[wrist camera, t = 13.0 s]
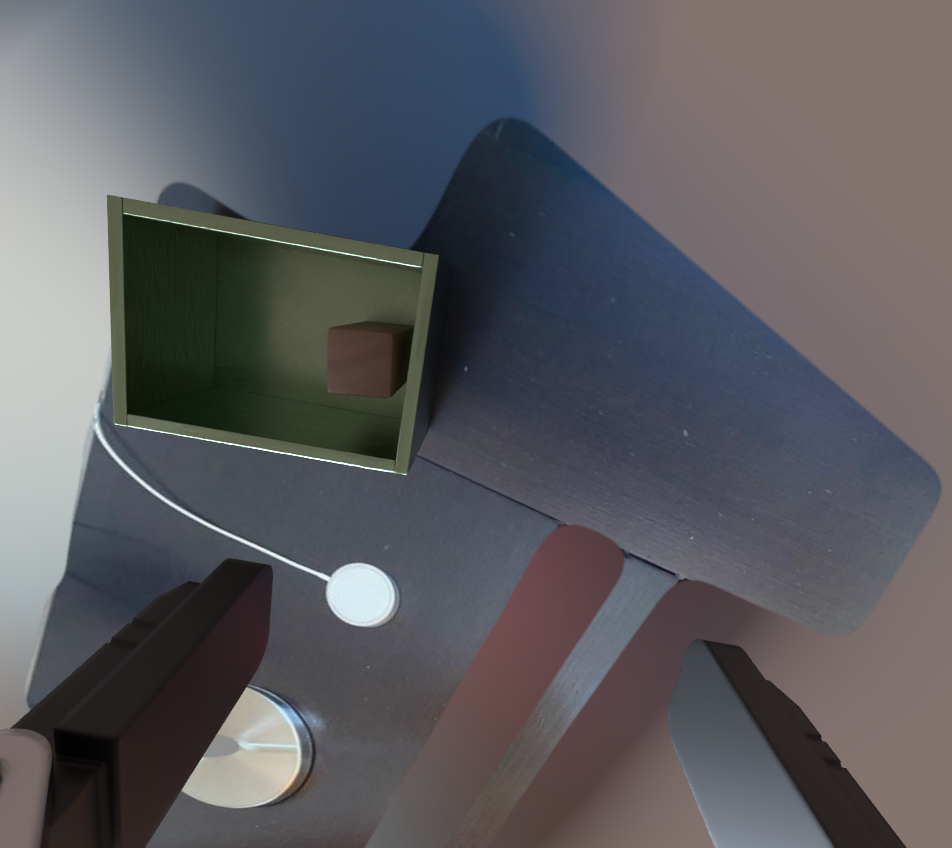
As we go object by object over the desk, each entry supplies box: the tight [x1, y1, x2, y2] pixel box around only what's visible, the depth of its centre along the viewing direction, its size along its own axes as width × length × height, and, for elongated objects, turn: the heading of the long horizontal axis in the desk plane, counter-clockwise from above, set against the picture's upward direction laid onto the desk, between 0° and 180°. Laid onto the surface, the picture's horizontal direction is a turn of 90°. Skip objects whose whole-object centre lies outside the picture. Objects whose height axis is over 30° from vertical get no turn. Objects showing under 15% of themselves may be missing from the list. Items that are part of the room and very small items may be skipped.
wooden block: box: [327, 321, 414, 399], centre depth 31 cm, size 4×4×8 cm
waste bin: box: [107, 195, 453, 475], centre depth 31 cm, size 18×13×10 cm
